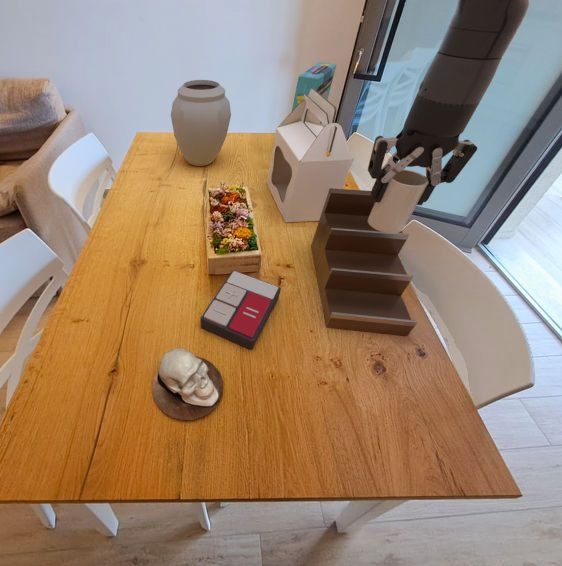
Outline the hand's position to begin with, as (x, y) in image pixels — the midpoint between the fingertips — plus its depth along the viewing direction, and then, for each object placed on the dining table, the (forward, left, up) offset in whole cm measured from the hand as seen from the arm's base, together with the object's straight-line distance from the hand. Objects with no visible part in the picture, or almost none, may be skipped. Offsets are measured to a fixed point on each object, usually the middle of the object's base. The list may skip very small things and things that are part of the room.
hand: (396, 201), depth 57 cm
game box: (+48, -48, -22) cm, 72 cm away
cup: (0, 0, -5) cm, 5 cm away
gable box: (+30, -22, -22) cm, 43 cm away
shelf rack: (+1, -1, -22) cm, 22 cm away
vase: (+69, -19, -22) cm, 75 cm away
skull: (+7, +42, -22) cm, 48 cm away
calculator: (+12, +23, -22) cm, 34 cm away
